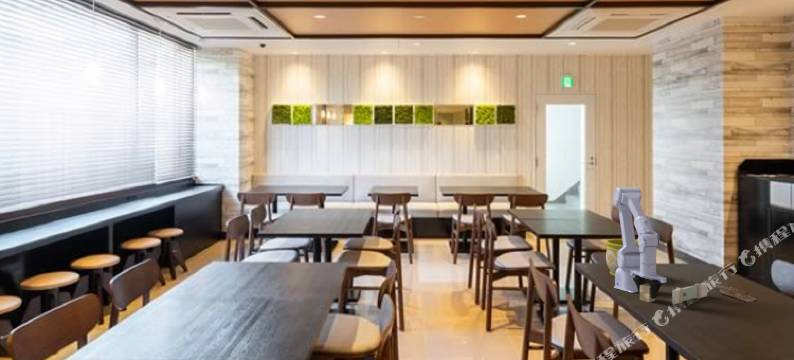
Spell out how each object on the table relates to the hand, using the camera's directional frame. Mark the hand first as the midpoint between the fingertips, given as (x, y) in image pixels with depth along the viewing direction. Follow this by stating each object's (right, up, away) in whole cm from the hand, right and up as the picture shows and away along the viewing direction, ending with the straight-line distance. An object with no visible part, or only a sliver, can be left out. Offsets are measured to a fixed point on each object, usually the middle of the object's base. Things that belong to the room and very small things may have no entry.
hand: (647, 296), depth 202 cm
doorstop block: (0, -2, 0) cm, 2 cm away
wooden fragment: (+40, -1, +9) cm, 41 cm away
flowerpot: (+8, +1, +37) cm, 38 cm away
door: (+16, -1, -1) cm, 16 cm away
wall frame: (+16, -1, 0) cm, 16 cm away
